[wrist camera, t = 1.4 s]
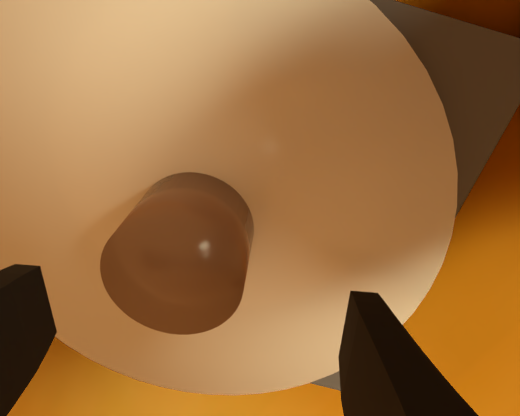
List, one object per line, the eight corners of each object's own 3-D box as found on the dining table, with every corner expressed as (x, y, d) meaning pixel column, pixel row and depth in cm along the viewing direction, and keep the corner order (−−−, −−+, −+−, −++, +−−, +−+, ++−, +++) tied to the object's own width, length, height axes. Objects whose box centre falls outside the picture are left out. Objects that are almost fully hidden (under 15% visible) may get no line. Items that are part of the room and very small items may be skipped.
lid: (570, 88, 11) (686, 122, 8) (311, 423, 19) (315, 513, 16) (-20, -197, 10) (-192, -308, 6) (-45, 300, 17) (-129, 372, 14)
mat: (532, 44, 12) (551, 47, 11) (352, 375, 19) (355, 394, 18) (35, -105, 11) (12, -115, 10) (37, 296, 18) (23, 311, 17)
